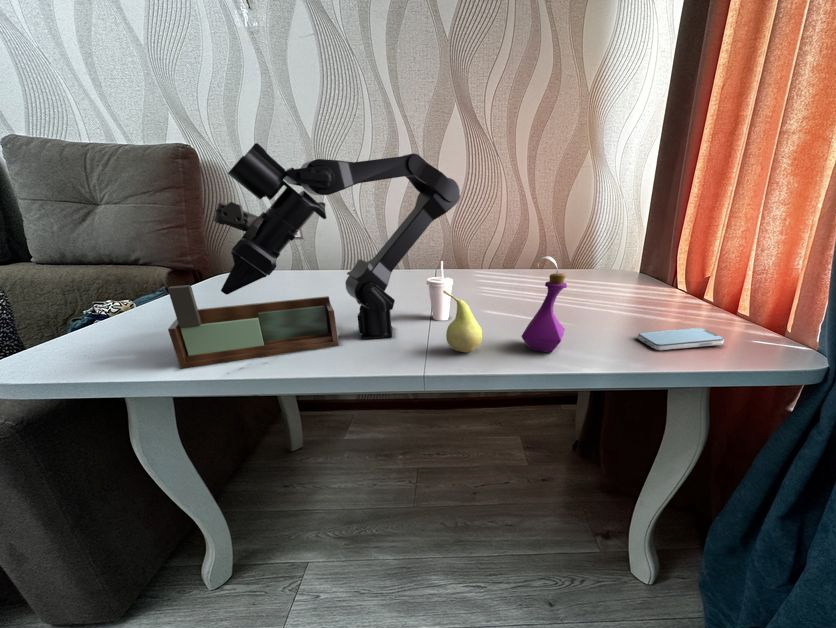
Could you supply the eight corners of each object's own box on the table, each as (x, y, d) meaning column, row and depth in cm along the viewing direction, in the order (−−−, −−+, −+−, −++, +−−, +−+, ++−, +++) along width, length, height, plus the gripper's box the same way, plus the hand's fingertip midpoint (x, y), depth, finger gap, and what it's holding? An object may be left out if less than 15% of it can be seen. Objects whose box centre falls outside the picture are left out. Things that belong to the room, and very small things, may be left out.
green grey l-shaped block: (264, 346, 73) (250, 280, 68) (264, 349, 72) (249, 281, 67) (191, 357, 69) (169, 286, 64) (189, 360, 67) (167, 288, 62)
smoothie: (450, 323, 90) (449, 263, 85) (424, 321, 91) (422, 262, 86) (456, 315, 96) (455, 259, 91) (432, 313, 97) (430, 258, 92)
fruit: (479, 359, 70) (480, 296, 66) (440, 356, 72) (438, 294, 67) (484, 346, 76) (485, 287, 72) (448, 343, 78) (447, 286, 73)
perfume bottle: (563, 343, 78) (572, 254, 71) (559, 357, 71) (569, 260, 64) (527, 339, 80) (533, 252, 73) (520, 352, 73) (525, 258, 67)
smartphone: (635, 332, 80) (700, 326, 82) (634, 339, 81) (698, 334, 83) (657, 345, 73) (727, 338, 75) (656, 353, 74) (725, 346, 76)
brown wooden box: (333, 333, 83) (328, 296, 80) (338, 345, 77) (333, 305, 73) (189, 353, 73) (176, 311, 70) (180, 369, 66) (165, 323, 63)
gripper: (244, 185, 70) (189, 249, 70) (234, 182, 54) (164, 264, 54) (297, 228, 76) (247, 287, 76) (302, 236, 60) (239, 311, 60)
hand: (226, 287), depth 66 cm, fingers open, 9 cm apart
